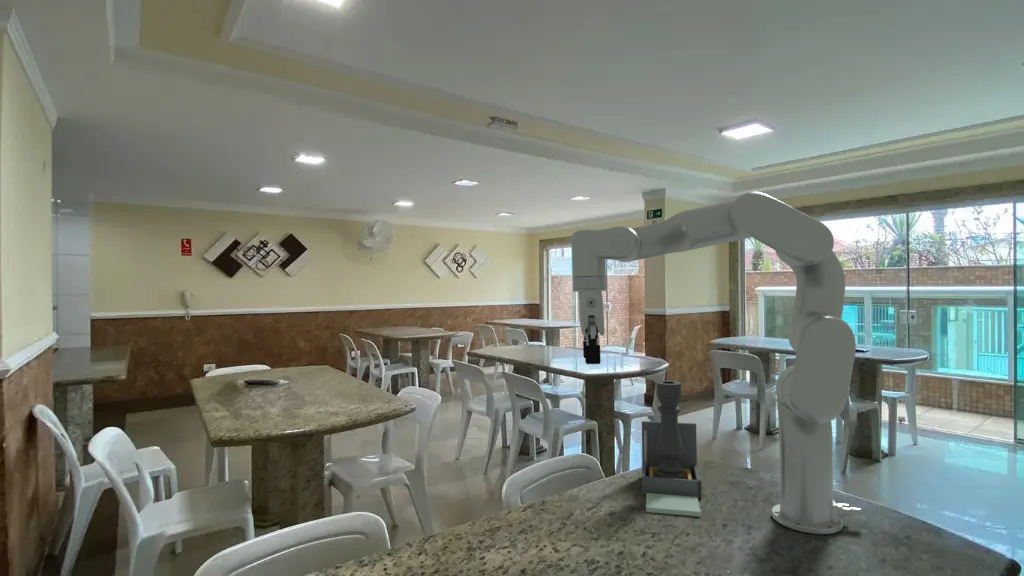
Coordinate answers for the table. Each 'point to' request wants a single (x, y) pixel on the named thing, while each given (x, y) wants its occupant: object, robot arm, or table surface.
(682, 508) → the sage pad
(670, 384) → the candle holder
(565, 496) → the table surface
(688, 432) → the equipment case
